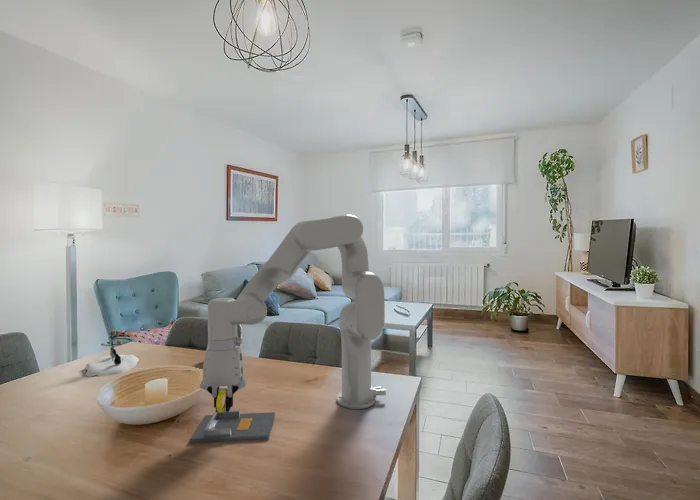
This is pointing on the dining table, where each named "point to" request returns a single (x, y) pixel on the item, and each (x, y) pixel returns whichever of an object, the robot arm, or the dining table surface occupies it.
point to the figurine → (111, 361)
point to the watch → (219, 399)
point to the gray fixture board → (233, 427)
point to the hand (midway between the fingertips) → (223, 409)
